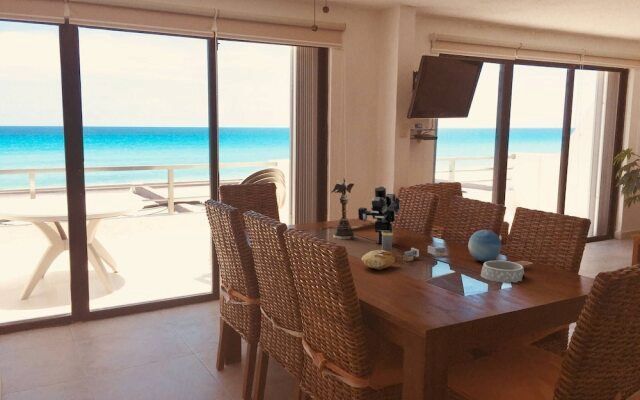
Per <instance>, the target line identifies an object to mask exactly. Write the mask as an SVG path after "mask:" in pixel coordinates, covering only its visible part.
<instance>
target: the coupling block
mask: <svg viewBox="0 0 640 400" xmlns="http://www.w3.org/2000/svg"><path fill="white" fill-rule="evenodd" d="M393 232H394V231H393ZM393 232H392V231H382V244H381V250H384V251H389V252H391V255H393V254H392V253H393V235H394V233H393Z"/></svg>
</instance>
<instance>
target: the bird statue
mask: <svg viewBox="0 0 640 400" xmlns="http://www.w3.org/2000/svg"><path fill="white" fill-rule="evenodd" d="M354 186H355V182H350V183H348V182H347V178H346V177H343V183H340V182H339V180H338V179H337V180H336V184H335V185H334V188H333V189H331V190H330V194H332V193H335V194H337V193H338V194H341V196H340V198H339V202H340V204H341V211H340V212H341V215H342V216H341V218H340V219H339V220H340V221H339V222H338V225H337V226H336V228H335V232H334V234H333V238H334V239H335V238H337V239H336V240H351V239H354V238H355V234H354V232H353V229H352V227H351V225H350V222H349V218H347V204H348V203H349V197H348V195H347V192H348V193H349V194H351V191H352V188H353V187H354Z"/></svg>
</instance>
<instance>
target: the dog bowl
mask: <svg viewBox="0 0 640 400" xmlns="http://www.w3.org/2000/svg"><path fill="white" fill-rule="evenodd" d="M480 277H481V278H483V279H485V280H488V281H492V282H497V283H508V284H510V283H511V282H513V283H519V282H518V281H521V282H522V281H523V277H524V278H526V275H525V271H524V266H523V265H522V264H520V263H517V262H514V261H507V260H492V261H487V262H483V265H482V268H481V271H480Z"/></svg>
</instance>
